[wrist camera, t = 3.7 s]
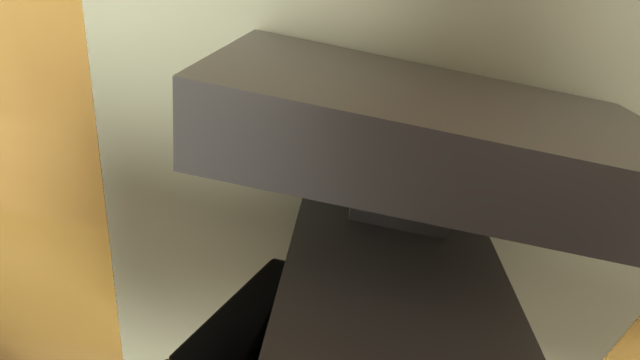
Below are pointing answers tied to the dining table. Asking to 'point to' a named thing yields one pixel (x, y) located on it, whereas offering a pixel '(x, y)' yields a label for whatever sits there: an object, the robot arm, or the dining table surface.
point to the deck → (282, 210)
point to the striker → (407, 191)
